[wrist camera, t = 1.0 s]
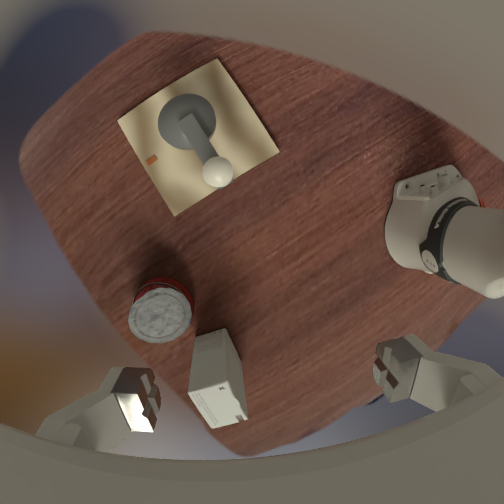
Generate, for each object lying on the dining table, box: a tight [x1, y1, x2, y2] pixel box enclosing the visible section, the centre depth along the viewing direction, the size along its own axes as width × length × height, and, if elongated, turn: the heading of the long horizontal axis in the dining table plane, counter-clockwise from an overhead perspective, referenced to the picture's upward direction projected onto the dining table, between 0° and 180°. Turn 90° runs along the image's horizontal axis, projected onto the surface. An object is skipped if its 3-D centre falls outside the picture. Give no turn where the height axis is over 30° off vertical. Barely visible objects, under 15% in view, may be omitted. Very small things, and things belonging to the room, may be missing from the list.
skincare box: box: [188, 328, 248, 428], centre depth 41 cm, size 8×6×15 cm
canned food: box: [128, 277, 194, 343], centre depth 43 cm, size 11×10×10 cm
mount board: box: [118, 59, 279, 217], centre depth 37 cm, size 18×18×7 cm
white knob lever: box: [158, 94, 234, 190], centre depth 30 cm, size 7×13×8 cm, turn 31°
